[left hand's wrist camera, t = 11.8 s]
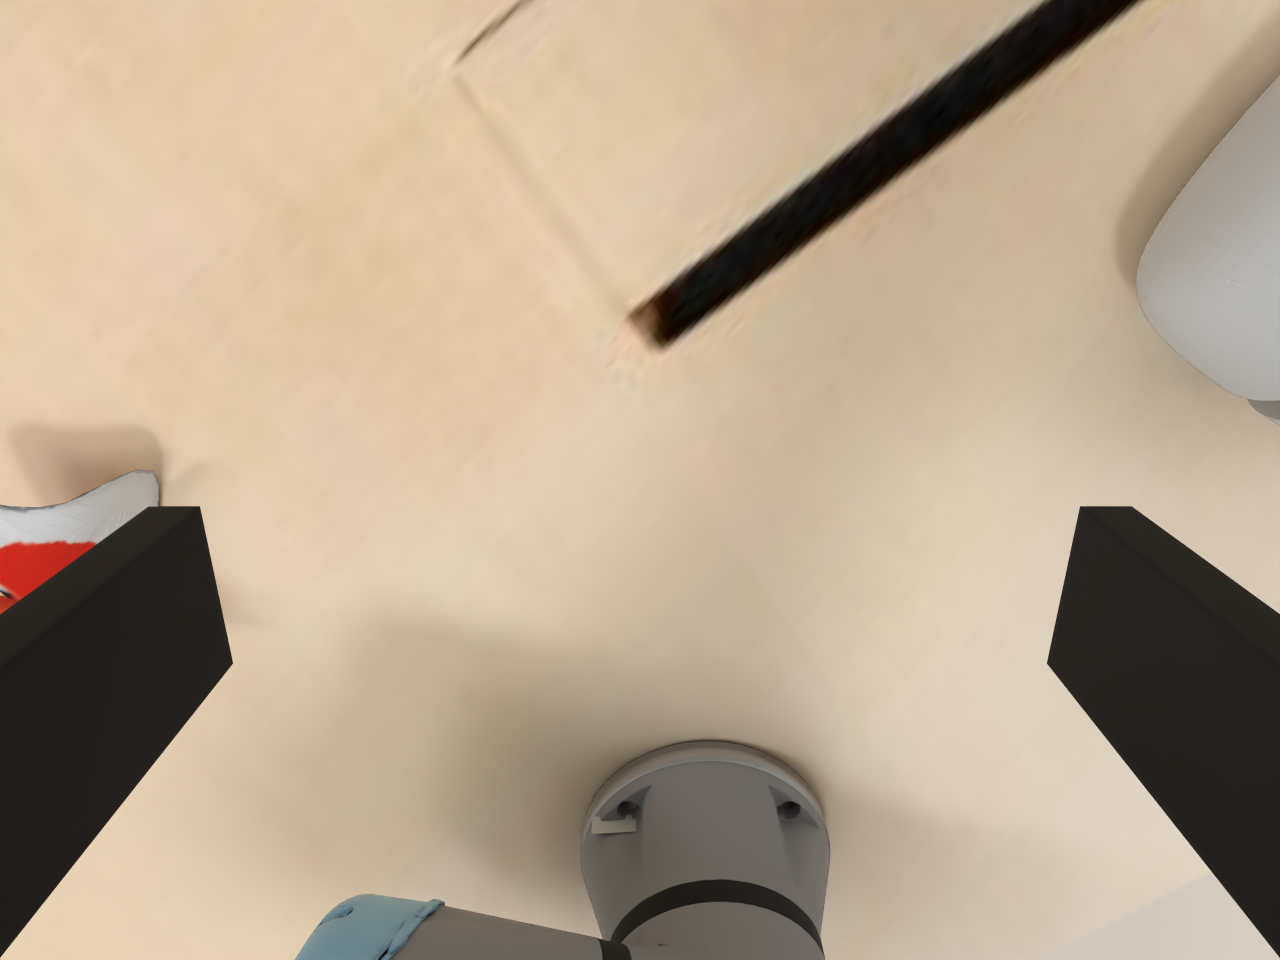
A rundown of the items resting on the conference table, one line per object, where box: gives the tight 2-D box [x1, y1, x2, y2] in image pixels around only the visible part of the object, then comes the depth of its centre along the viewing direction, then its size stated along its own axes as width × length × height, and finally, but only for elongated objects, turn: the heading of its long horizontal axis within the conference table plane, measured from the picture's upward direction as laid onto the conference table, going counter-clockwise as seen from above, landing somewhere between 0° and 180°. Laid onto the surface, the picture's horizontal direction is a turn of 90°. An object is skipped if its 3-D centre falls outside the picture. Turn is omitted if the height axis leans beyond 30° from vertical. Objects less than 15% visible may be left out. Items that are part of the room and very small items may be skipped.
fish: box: [0, 470, 160, 614], centre depth 42 cm, size 11×16×10 cm
